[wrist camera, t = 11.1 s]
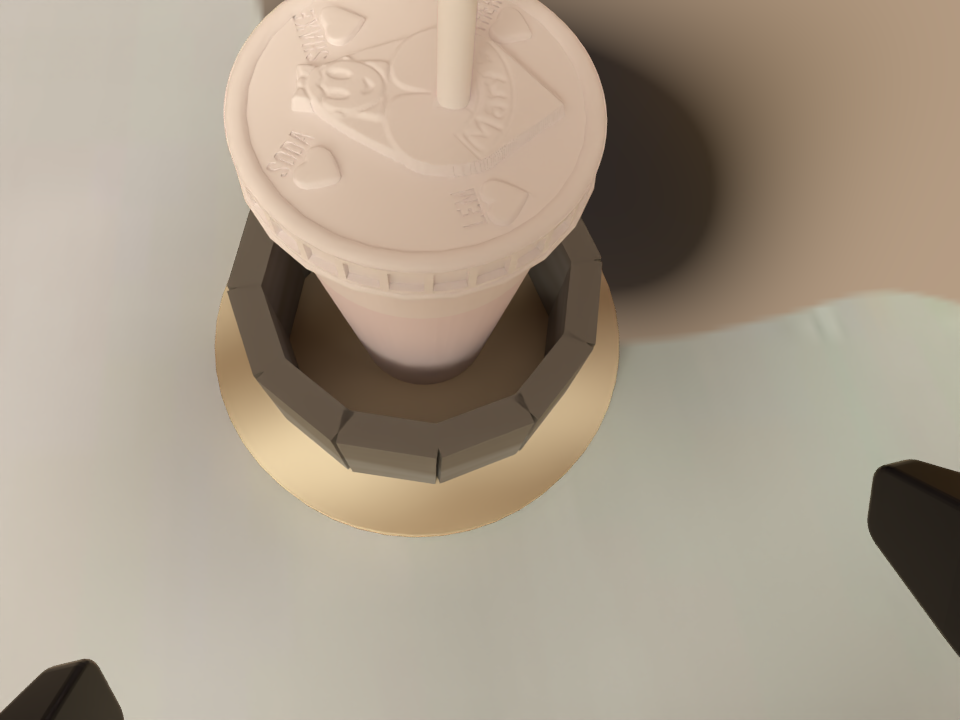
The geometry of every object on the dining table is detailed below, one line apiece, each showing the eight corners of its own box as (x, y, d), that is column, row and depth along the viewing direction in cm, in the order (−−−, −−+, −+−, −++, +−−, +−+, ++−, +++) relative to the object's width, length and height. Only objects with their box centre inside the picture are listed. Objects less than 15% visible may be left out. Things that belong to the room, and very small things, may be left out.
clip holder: (676, 448, 20) (741, 406, 16) (290, 605, 18) (248, 606, 14) (521, 138, 24) (541, 39, 20) (182, 238, 22) (121, 149, 17)
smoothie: (527, 437, 19) (745, 78, 6) (301, 423, 19) (-2, 10, 6) (532, 240, 21) (698, -343, 8) (329, 224, 21) (158, -410, 8)
